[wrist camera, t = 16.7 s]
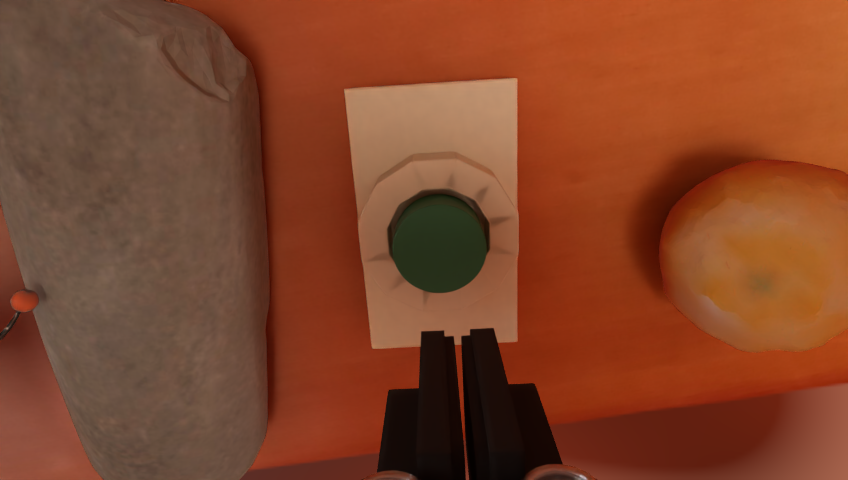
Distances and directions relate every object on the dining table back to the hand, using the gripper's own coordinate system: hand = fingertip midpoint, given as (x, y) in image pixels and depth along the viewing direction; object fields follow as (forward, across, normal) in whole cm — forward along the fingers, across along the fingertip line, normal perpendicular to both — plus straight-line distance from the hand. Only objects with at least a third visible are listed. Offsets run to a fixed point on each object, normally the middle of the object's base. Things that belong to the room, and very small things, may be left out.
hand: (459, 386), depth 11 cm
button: (+10, 0, -1) cm, 10 cm away
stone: (+10, +8, +1) cm, 13 cm away
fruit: (+13, -13, +1) cm, 19 cm away
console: (+13, 0, -1) cm, 13 cm away
